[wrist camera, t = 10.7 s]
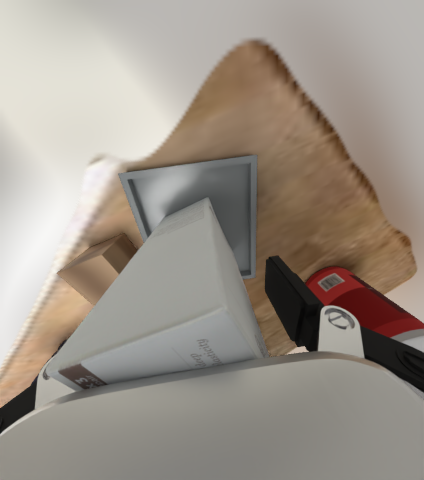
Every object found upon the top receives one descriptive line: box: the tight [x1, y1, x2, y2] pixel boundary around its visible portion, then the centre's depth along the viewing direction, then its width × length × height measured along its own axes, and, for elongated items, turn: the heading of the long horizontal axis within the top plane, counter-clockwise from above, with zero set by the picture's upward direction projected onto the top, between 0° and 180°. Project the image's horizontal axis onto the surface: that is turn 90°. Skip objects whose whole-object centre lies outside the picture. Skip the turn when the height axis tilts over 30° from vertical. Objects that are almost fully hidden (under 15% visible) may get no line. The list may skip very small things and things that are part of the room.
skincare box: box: [45, 197, 269, 391], centre depth 12 cm, size 8×6×15 cm
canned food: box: [306, 266, 424, 353], centre depth 21 cm, size 8×8×11 cm
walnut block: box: [57, 233, 137, 306], centre depth 18 cm, size 5×5×5 cm
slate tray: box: [118, 155, 257, 279], centre depth 18 cm, size 13×15×2 cm
